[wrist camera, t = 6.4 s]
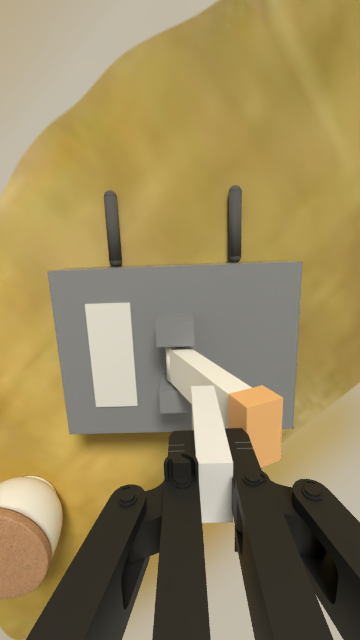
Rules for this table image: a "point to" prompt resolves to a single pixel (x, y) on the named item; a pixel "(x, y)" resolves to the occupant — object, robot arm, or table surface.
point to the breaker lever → (232, 400)
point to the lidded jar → (27, 533)
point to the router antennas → (114, 234)
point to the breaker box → (170, 337)
